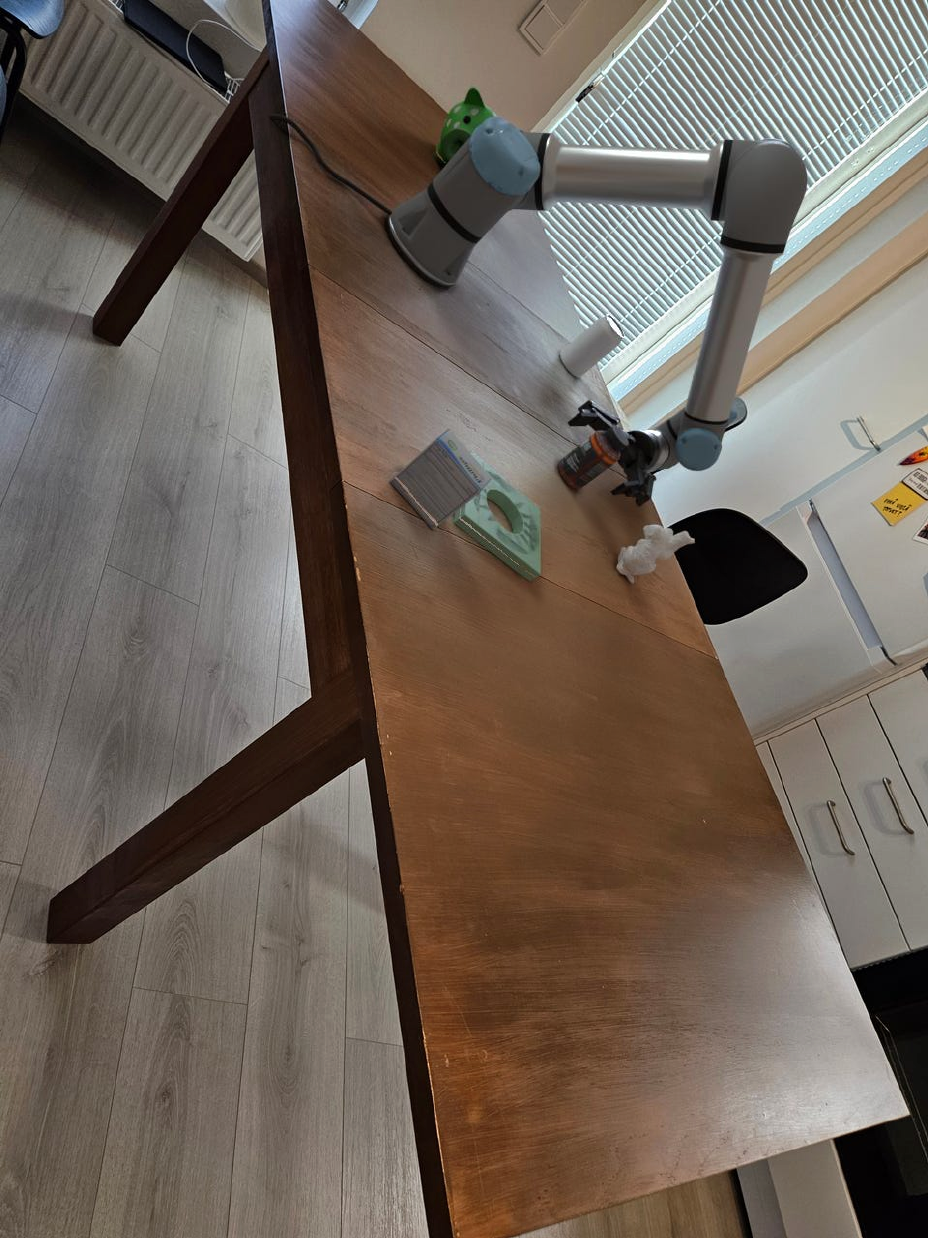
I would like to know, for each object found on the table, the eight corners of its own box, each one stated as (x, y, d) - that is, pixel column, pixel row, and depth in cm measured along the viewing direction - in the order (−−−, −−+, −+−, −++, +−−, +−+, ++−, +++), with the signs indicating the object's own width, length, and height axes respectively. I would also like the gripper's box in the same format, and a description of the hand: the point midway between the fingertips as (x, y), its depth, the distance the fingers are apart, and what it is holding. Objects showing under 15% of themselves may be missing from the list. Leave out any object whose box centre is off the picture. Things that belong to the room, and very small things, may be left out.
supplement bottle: (584, 489, 136) (637, 450, 130) (570, 492, 131) (625, 452, 125) (565, 460, 137) (618, 419, 130) (551, 462, 132) (604, 420, 125)
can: (572, 379, 160) (620, 339, 153) (554, 352, 160) (601, 311, 153) (583, 377, 165) (629, 339, 159) (565, 351, 165) (611, 312, 159)
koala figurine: (633, 564, 135) (693, 526, 129) (642, 595, 132) (704, 558, 125) (602, 544, 130) (663, 503, 124) (611, 576, 126) (674, 536, 120)
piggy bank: (417, 150, 161) (468, 87, 153) (432, 131, 174) (480, 73, 166) (467, 205, 167) (519, 148, 158) (478, 183, 180) (527, 129, 172)
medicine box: (444, 518, 99) (493, 478, 95) (431, 532, 96) (482, 491, 91) (402, 469, 98) (450, 426, 93) (388, 481, 94) (436, 437, 90)
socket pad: (453, 523, 100) (464, 514, 99) (461, 458, 110) (471, 450, 109) (530, 582, 107) (541, 574, 106) (530, 516, 117) (540, 509, 116)
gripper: (660, 519, 148) (617, 531, 131) (590, 407, 151) (540, 404, 133) (694, 496, 144) (655, 505, 126) (622, 382, 147) (574, 376, 129)
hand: (596, 454), depth 130 cm, fingers open, 13 cm apart
